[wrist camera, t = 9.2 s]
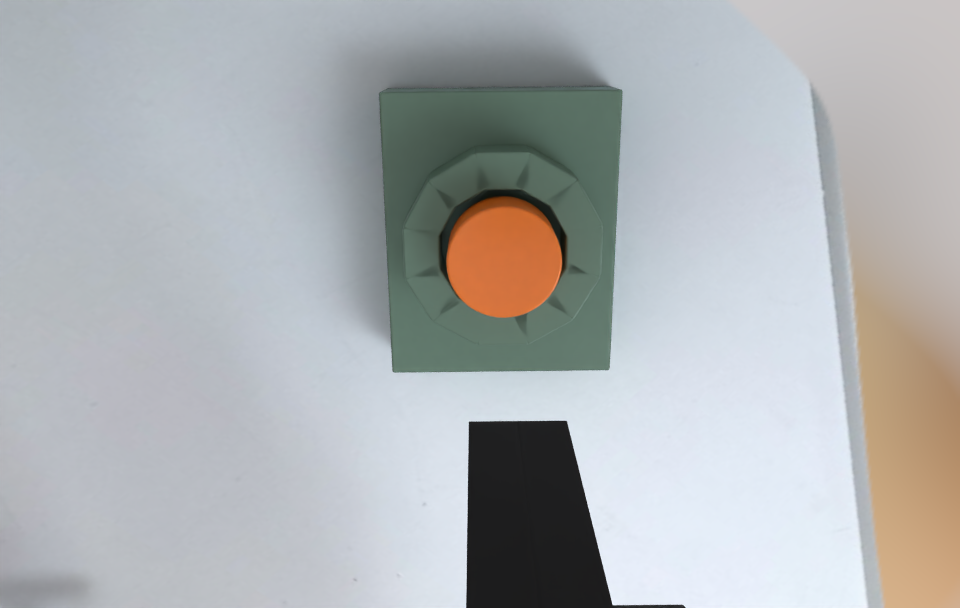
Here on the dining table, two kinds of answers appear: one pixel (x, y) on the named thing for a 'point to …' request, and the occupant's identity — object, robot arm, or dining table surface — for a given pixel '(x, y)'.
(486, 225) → the button
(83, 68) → the dining table surface
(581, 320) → the control block
